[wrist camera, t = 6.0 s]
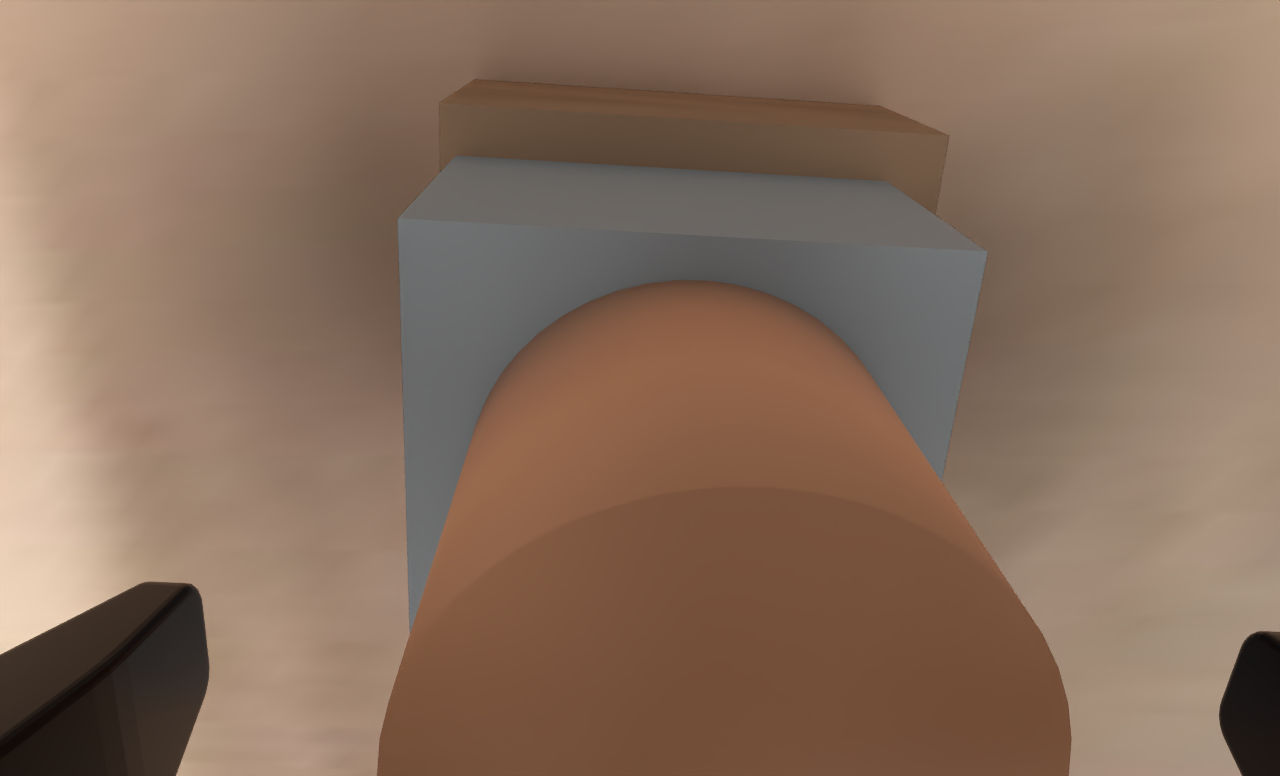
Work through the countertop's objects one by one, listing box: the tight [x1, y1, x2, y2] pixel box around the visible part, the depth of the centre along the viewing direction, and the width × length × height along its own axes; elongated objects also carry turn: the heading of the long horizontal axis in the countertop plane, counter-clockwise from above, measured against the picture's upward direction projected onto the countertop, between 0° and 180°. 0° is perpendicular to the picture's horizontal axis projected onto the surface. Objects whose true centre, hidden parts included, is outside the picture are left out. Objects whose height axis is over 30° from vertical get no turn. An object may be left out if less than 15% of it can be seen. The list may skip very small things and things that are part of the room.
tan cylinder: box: [377, 280, 1071, 776], centre depth 9 cm, size 5×5×4 cm
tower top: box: [398, 155, 988, 633], centre depth 13 cm, size 6×6×4 cm
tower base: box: [439, 80, 949, 215], centre depth 17 cm, size 7×7×4 cm
